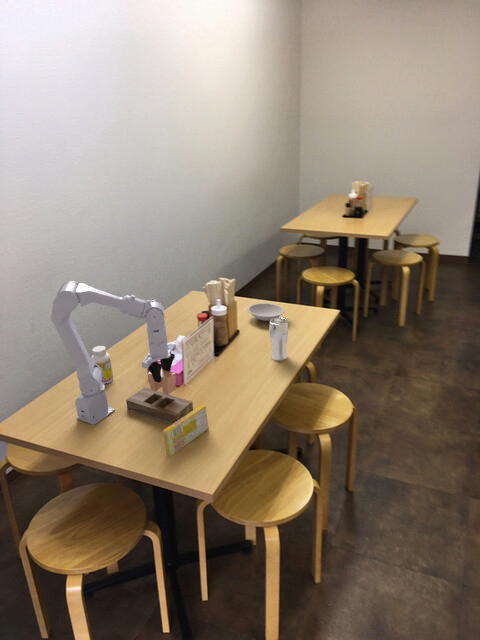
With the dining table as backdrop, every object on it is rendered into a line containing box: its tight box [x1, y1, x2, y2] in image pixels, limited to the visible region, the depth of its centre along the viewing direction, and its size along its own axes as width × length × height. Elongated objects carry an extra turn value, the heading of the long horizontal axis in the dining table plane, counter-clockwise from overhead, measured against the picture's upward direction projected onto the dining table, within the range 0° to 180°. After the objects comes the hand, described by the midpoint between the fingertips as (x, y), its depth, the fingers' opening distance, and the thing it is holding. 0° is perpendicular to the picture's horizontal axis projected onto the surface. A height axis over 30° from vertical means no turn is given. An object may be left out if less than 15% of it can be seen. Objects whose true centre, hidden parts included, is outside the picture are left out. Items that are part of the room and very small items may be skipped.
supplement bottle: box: [90, 345, 114, 385], centre depth 192 cm, size 7×7×13 cm
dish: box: [247, 302, 285, 322], centre depth 236 cm, size 18×14×5 cm
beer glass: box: [268, 317, 289, 362], centre depth 201 cm, size 7×7×15 cm
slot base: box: [125, 387, 194, 425], centre depth 173 cm, size 9×20×4 cm, turn 58°
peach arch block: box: [147, 368, 177, 395], centre depth 173 cm, size 4×8×6 cm, turn 58°
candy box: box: [162, 404, 210, 457], centre depth 156 cm, size 16×2×8 cm, turn 141°
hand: (162, 378), depth 172 cm, fingers closed on peach arch block, 4 cm apart
